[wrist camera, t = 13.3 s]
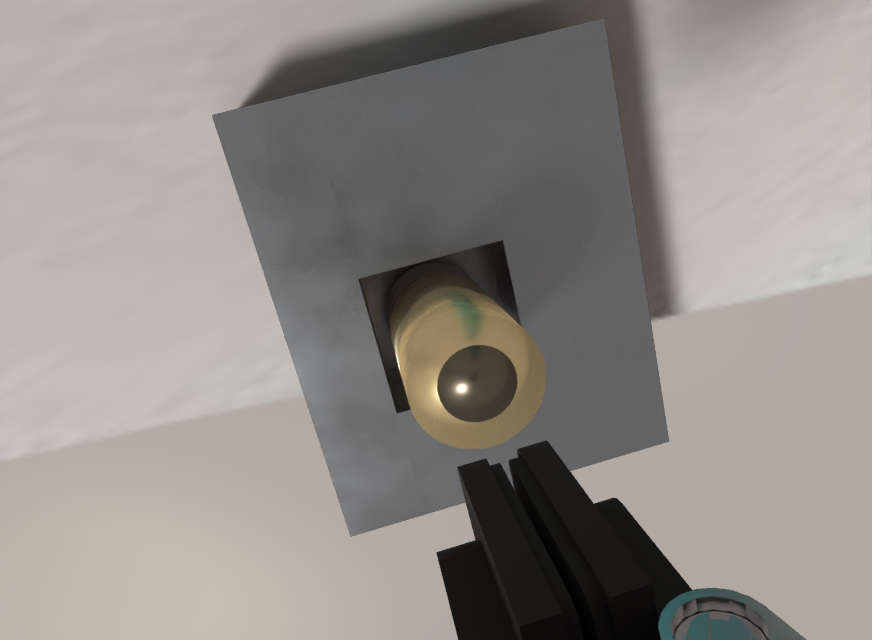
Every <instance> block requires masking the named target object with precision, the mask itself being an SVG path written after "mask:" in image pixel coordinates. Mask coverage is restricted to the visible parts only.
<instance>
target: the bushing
mask: <svg viewBox="0 0 872 640" xmlns="http://www.w3.org/2000/svg"><path fill="white" fill-rule="evenodd" d="M386 320H387V325H388V329H389V332H390V336H391V340H392V344H393V347H394V351H395V355H396V358H397V362H398V366H399V369H400V373H401V377H402V381H403V384H404V388H405V392H406V395H407V399H408V403H409V406H410V409H411V411H412V413H413V415H414V417H415V419H416V421H417V422H418V423H419V425H420V426H421V427H422V428H423V429H424V430H425V431H426V432H427V433H428V434H429V435H430V436H432V437H433V438H434V439H436V440H438V441H440V442H441V443H444V444H446V445H449V446H452V447H456V448H461V449H482V448H487V447H492V446H495V445H498V444H500V443H503V442H505V441H507V440H509V439H510V438H512V437H513V436H515V435H516V434H518V433H519V432H520V431H521V430H522V429H524V428H525V426H526V425H527V424H528V423H529V422H530V421H531V420H532V418H533V417H534V415H535V414H536V412H537V410H538V409H539V407H540V404H541V402H542V399H543V396H544V392H545V387H546V368H545V363H544V359H543V356H542V354H541V351H540V349H539V347H538V346H537V344H536V343H535V341H534V340H533V339H532V337H531V336H530V335H529V334H528V333H527V332H526V331H525V330H524V329H523V328H522V327H521V326H520V325H519V324H518V323H517V322H516V321H515V320H514V319H513V318H512V317H511V316H510V315H508V314H507V313H506V312H505V311H504V310H503V309H502V308H501V307H500V306H499V305H498V304H497V303H496V302H495V301H494V300H493V299H492V298H491V297H490V296H489V295H488V294H487V293H486V292H485V291H484V290H483V289H482V288H481V287H480V286H479V285H478V284H477V283H476V282H474V281H473V280H472V279H471V278H470V277H469V276H468V275H467V274H466V273H465V272H463V271H462V270H460V269H459V268H457V267H454V266H452V265H449V264H444V263H427V264H422V265H419V266H417V267H414V268H412V269H410V270H409V271H407V272H406V273H405V274H403V275H402V276H401V277H400V278H399V279H398V280H397V282H396V283H395V284H394V286H393V287H392V289H391V291H390V293H389V296H388V299H387V303H386Z"/></svg>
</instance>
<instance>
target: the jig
mask: <svg viewBox="0 0 872 640" xmlns="http://www.w3.org/2000/svg"><path fill="white" fill-rule="evenodd" d="M212 117H213V120H214V123H215V126H216V129H217V132H218V135H219V138H220V141H221V144H222V147H223V151H224V154H225V157H226V160H227V163H228V166H229V169H230V172H231V175H232V178H233V181H234V184H235V187H236V190H237V193H238V196H239V199H240V202H241V205H242V208H243V211H244V214H245V217H246V220H247V223H248V226H249V229H250V232H251V236H252V239H253V242H254V245H255V248H256V251H257V254H258V257H259V260H260V263H261V266H262V269H263V272H264V275H265V278H266V281H267V284H268V287H269V290H270V293H271V296H272V299H273V302H274V305H275V308H276V311H277V314H278V317H279V321H280V324H281V327H282V330H283V333H284V336H285V339H286V342H287V345H288V348H289V351H290V354H291V357H292V360H293V363H294V366H295V369H296V372H297V375H298V378H299V381H300V384H301V387H302V390H303V393H304V396H305V399H306V403H307V406H308V409H309V412H310V415H311V418H312V421H313V424H314V427H315V430H316V433H317V436H318V439H319V442H320V445H321V448H322V451H323V454H324V457H325V460H326V463H327V466H328V469H329V472H330V475H331V478H332V481H333V484H334V487H335V490H336V494H337V497H338V499H339V503H340V506H341V508H342V512H343V515H344V518H345V521H346V524H347V527H348V530H349V533H350V536H355V535H358V534H361V533H365V532H368V531H371V530H375V529H378V528H381V527H385V526H388V525H392V524H395V523H398V522H402V521H405V520H408V519H411V518H415V517H418V516H422V515H425V514H428V513H431V512H435V511H438V510H442V509H445V508H448V507H452V506H455V505H458V504H462V503H465V502H466V501H465V498H464V494H463V490H462V486H461V482H460V478H459V474H458V470H457V467H458V466H462V465H465V464H468V463H472V462H475V461H478V460H482V459H485V458H486V459H487V460H488V462H489V464H490V465H494V464H497V463H500V464H501V465H502V467H503V469H504V471H505V473H506V475H507V477H508V478H509V480H510V482H511V484H512V486H513V488H514V485H513V481H512V477H511V472H510V468H509V462H508V461H509V460H510V459H514V458H517V457H518V456H517V449H519V448H522V447H525V446H529V445H532V444H535V443H539V442H542V441H545V440H547V441H548V442H549V443H550V445H551V446H552V447H553V449H554V450H555V451H556V453H557V454H558V456H559V457H560V458H561V460H562V461H563V462H564V464H565V465H566V467H567V468H568V469H569V471H572V470H575V469H579V468H582V467H585V466H589V465H592V464H595V463H599V462H602V461H606V460H609V459H612V458H615V457H619V456H622V455H626V454H629V453H632V452H636V451H639V450H642V449H645V448H649V447H652V446H656V445H659V444H662V443H666V442H669V437H668V431H667V424H666V418H665V411H664V404H663V398H662V392H661V385H660V378H659V372H658V366H657V359H656V353H655V346H654V339H653V333H652V326H651V320H650V313H649V307H648V300H647V294H646V287H645V281H644V274H643V267H642V261H641V254H640V248H639V241H638V235H637V228H636V222H635V215H634V209H633V202H632V196H631V189H630V183H629V176H628V170H627V163H626V157H625V150H624V143H623V137H622V130H621V124H620V117H619V111H618V104H617V98H616V91H615V85H614V78H613V72H612V65H611V59H610V52H609V46H608V39H607V33H606V26H605V20H604V18H602V19H598V20H594V21H590V22H586V23H582V24H578V25H574V26H570V27H566V28H562V29H558V30H554V31H550V32H546V33H542V34H538V35H534V36H530V37H526V38H522V39H518V40H514V41H509V42H505V43H501V44H497V45H493V46H489V47H485V48H481V49H477V50H473V51H469V52H465V53H461V54H457V55H453V56H449V57H445V58H441V59H437V60H433V61H429V62H425V63H421V64H417V65H412V66H408V67H404V68H400V69H396V70H392V71H388V72H384V73H380V74H376V75H372V76H368V77H364V78H360V79H356V80H352V81H348V82H344V83H340V84H336V85H332V86H328V87H324V88H320V89H315V90H311V91H307V92H303V93H299V94H295V95H291V96H287V97H283V98H279V99H275V100H271V101H267V102H263V103H259V104H255V105H251V106H247V107H243V108H239V109H235V110H231V111H227V112H223V113H218V114H214V115H212ZM427 263H444V264H449V265H452V266H454V267H457V268H459V269H460V270H462V271H463V272H465V273H466V274H467V275H468V276H469V277H470V278H471V279H472V280H473V281H474V282H476V283H477V284H478V285H479V286H480V287H481V288H482V289H483V290H484V291H485V292H486V293H487V294H488V295H489V296H490V297H491V298H492V299H493V300H494V301H495V302H496V303H497V304H498V305H499V306H500V307H501V308H502V309H503V310H504V311H505V312H506V313H507V314H508V315H510V316H511V317H512V318H513V319H514V320H515V321H516V322H517V323H518V324H519V325H520V326H521V327H522V328H523V329H524V330H525V331H526V332H527V333H528V334H529V335H530V336H531V337H532V339H533V340H534V341H535V343H536V344H537V346H538V347H539V349H540V351H541V354H542V356H543V359H544V363H545V368H546V387H545V392H544V396H543V399H542V402H541V404H540V407H539V409H538V410H537V412H536V414H535V415H534V417H533V418H532V420H531V421H530V422H529V423H528V424H527V425H526V426H525V428H524V429H522V430H521V431H520V432H519V433H518V434H516V435H515V436H513V437H512V438H510V439H509V440H507V441H505V442H503V443H500V444H498V445H495V446H492V447H487V448H482V449H461V448H456V447H452V446H449V445H446V444H444V443H441V442H440V441H438V440H436V439H434V438H433V437H432V436H430V435H429V434H428V433H427V432H426V431H425V430H424V429H423V428H422V427H421V426H420V425H419V423H418V422H417V421H416V419H415V417H414V415H413V413H412V411H411V409H410V406H409V403H408V399H407V395H406V392H405V388H404V384H403V381H402V377H401V373H400V369H399V366H398V362H397V358H396V355H395V351H394V347H393V344H392V340H391V336H390V332H389V329H388V325H387V320H386V303H387V299H388V296H389V293H390V291H391V289H392V287H393V286H394V284H395V283H396V282H397V280H398V279H399V278H400V277H401V276H402V275H403V274H405V273H406V272H407V271H409V270H410V269H412V268H414V267H417V266H419V265H422V264H427Z"/></svg>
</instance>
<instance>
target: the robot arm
mask: <svg viewBox="0 0 872 640" xmlns="http://www.w3.org/2000/svg"><path fill="white" fill-rule="evenodd" d="M517 456H518V457H517V458H514V459H510V460H509V461H508V462H509V468H510V472H511V477H512V481H513V485H514V488H513V486H512V484H511V482H510V480H509V478H508V477H507V475H506V473H505V471H504V469H503V467H502V465H501V464H500V463H497V464H494V465H490V464H489V462H488V460H487V459H486V458H485V459H482V460H478V461H475V462H472V463H468V464H465V465H462V466H458V467H457V470H458V474H459V478H460V482H461V486H462V490H463V494H464V498H465V501H466V505H467V509H468V513H469V517H470V520H471V524H472V528H473V532H474V536H475V541H472V542H469V543H465V544H462V545H459V546H456V547H452V548H449V549H446V550H443V551H439V552H437V557H438V561H439V565H440V569H441V572H442V576H443V580H444V584H445V588H446V592H447V596H448V600H449V604H450V608H451V612H452V616H453V620H454V624H455V628H456V632H457V636H458V640H806V639H805V638H804V637H803V636H801V635H800V634H799V633H798V632H796V631H795V630H794V629H792V628H791V627H790V626H789V625H788V624H787V623H785V622H784V621H783V620H782V619H780V618H779V617H778V616H777V615H775V614H774V613H773V612H772V611H770V610H769V609H768V608H767V607H766V606H764V605H763V604H761V603H759V602H758V601H756V600H755V599H753V598H751V597H750V596H747V595H744V594H741V593H738V592H735V591H733V590H726V589H719V588H705V589H695V590H692V589H691V588H690V587H689V585H688V584H687V583H686V582H685V580H684V579H683V578H682V577H681V576H680V574H679V573H678V572H677V571H676V569H675V568H674V567H673V566H672V564H671V563H670V562H669V561H668V559H666V557H665V556H664V555H663V553H662V552H661V551H660V550H659V548H658V547H657V546H656V545H655V543H654V542H653V541H652V540H651V539H650V537H649V536H648V535H647V534H646V532H645V531H644V530H643V529H642V528H641V526H640V525H639V524H638V523H637V521H636V520H635V519H634V518H633V516H632V515H631V514H630V513H629V512H628V510H627V509H626V508H625V506H623V504H622V503H621V502H620V501H619V500H618V499H617V498H611V499H608V500H605V501H601V502H598V503H595V504H593V502H592V501H591V499H590V498H589V497H588V495H587V494H586V493H585V491H584V490H583V488H582V487H581V486H580V484H579V483H578V482H577V480H576V479H575V477H574V476H573V475H572V473H571V472H570V471H569V469H568V468H567V467H566V465H565V464H564V462H563V461H562V460H561V458H560V457H559V456H558V454H557V453H556V451H555V450H554V449H553V447H552V446H551V445H550V443H549V442H548V441H547V440H545V441H542V442H539V443H535V444H532V445H529V446H525V447H522V448H519V449H517ZM514 489H515V490H514Z"/></svg>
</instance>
